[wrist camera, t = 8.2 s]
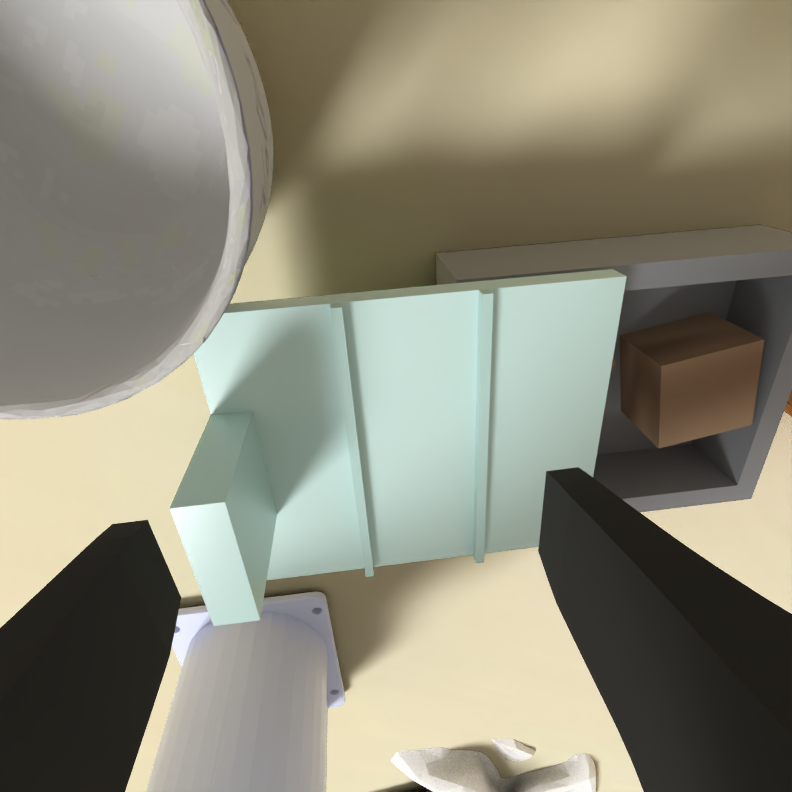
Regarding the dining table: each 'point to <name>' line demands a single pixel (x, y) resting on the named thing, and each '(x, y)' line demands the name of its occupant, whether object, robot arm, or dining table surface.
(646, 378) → the walnut block
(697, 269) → the tub
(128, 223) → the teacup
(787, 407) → the disposable coffee cup
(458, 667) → the dining table surface
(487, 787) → the cloth
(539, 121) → the dining table surface
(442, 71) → the dining table surface
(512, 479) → the lid
